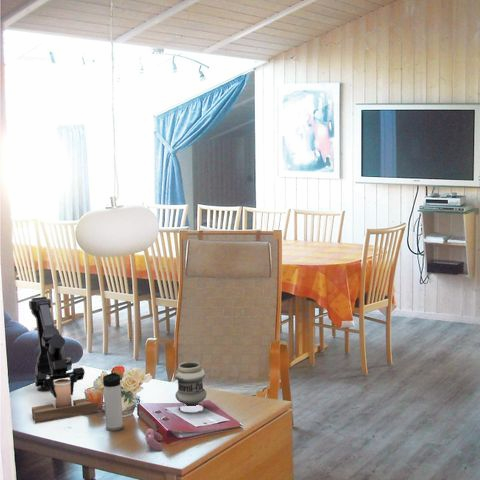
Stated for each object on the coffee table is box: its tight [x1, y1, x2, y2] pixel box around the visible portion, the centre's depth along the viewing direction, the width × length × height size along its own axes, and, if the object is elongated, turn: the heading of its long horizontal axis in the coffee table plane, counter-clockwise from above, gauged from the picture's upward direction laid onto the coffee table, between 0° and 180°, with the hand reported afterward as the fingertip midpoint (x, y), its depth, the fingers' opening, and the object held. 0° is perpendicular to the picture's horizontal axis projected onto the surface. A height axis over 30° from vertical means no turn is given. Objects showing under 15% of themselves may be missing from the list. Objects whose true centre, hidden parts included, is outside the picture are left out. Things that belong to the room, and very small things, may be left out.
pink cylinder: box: [54, 378, 73, 408], centre depth 314 cm, size 6×6×12 cm
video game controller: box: [144, 427, 164, 451], centre depth 280 cm, size 10×5×7 cm, turn 5°
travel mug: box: [102, 372, 124, 432], centre depth 297 cm, size 6×7×20 cm
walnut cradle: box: [31, 397, 99, 424], centre depth 314 cm, size 7×24×4 cm, turn 114°
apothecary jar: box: [174, 361, 207, 406], centre depth 314 cm, size 12×12×18 cm
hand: (63, 396), depth 313 cm, fingers closed on pink cylinder, 6 cm apart
